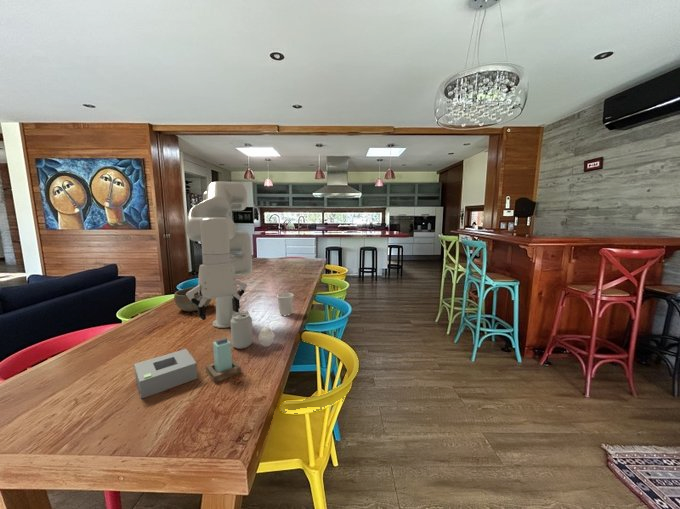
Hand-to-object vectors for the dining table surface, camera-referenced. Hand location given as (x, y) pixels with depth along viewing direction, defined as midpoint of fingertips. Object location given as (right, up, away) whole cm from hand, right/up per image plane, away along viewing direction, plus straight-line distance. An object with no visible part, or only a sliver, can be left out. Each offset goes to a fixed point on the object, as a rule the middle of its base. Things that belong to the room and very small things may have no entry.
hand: (220, 314), depth 83 cm
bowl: (-41, -11, +62) cm, 76 cm away
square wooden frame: (0, -19, +3) cm, 19 cm away
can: (-1, -17, +21) cm, 27 cm away
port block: (-16, -19, -1) cm, 25 cm away
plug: (0, -19, +3) cm, 19 cm away
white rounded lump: (+8, -17, +22) cm, 29 cm away
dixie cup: (+9, -12, +54) cm, 57 cm away
